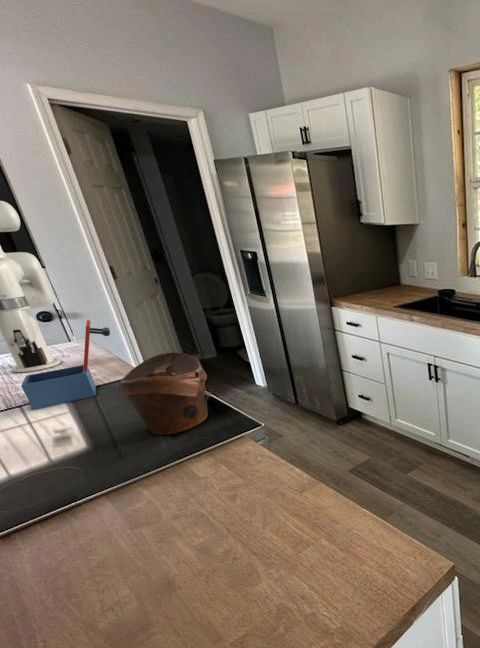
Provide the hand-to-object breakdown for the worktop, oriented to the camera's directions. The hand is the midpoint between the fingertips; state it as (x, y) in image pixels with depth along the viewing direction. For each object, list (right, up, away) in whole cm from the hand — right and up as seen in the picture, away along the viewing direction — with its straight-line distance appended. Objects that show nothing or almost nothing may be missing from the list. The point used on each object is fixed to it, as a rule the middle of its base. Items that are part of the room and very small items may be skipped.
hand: (35, 363), depth 124 cm
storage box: (+2, -11, +6) cm, 13 cm away
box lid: (+8, +6, +6) cm, 12 cm away
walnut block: (0, 0, 0) cm, 0 cm away
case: (+54, -17, -13) cm, 58 cm away
